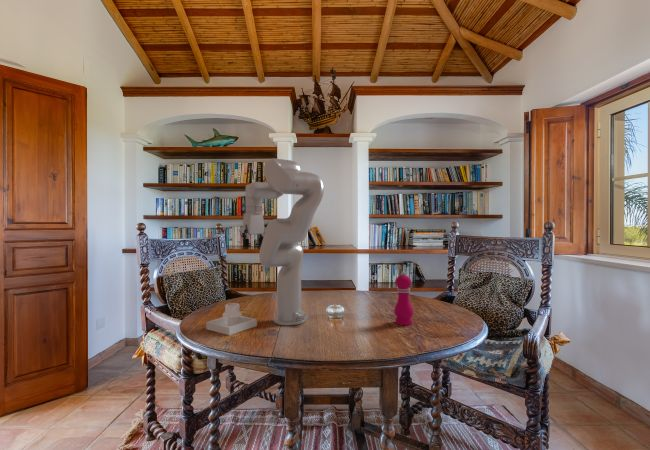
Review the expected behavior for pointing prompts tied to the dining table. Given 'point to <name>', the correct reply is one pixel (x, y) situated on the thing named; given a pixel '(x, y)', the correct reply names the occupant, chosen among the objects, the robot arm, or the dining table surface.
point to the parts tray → (222, 326)
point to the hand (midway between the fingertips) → (254, 246)
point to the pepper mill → (403, 300)
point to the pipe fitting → (232, 313)
